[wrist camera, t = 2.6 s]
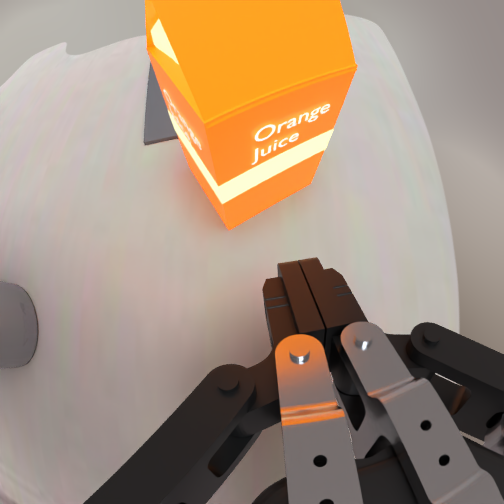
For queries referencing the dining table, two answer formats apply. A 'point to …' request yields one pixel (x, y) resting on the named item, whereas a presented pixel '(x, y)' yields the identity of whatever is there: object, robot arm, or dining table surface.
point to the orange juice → (251, 92)
